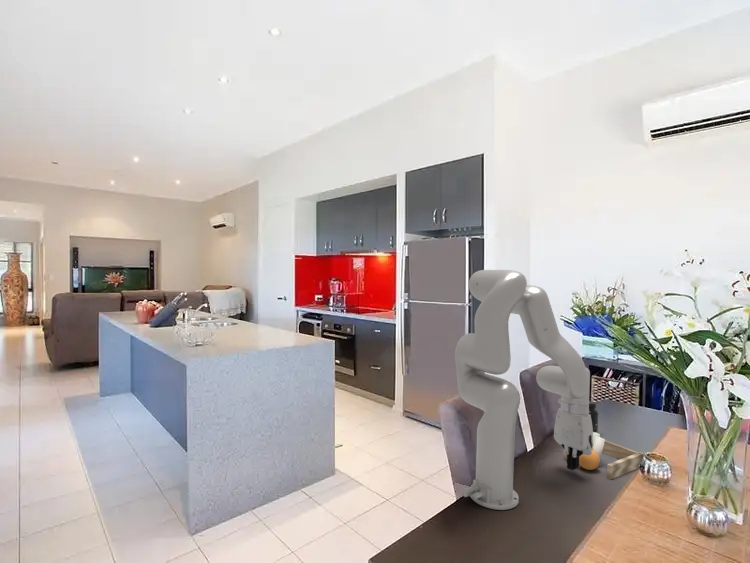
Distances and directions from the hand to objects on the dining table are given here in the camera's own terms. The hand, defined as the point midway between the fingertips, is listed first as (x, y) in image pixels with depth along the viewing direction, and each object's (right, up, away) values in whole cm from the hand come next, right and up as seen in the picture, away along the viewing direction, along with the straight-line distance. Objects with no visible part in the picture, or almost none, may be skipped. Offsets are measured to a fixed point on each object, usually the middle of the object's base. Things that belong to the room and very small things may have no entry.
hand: (572, 468), depth 126 cm
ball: (+6, +1, +4) cm, 7 cm away
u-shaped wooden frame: (+14, -2, +8) cm, 16 cm away
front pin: (+9, -1, +6) cm, 11 cm away
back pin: (+12, -2, +10) cm, 16 cm away
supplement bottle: (+21, -2, +33) cm, 39 cm away
